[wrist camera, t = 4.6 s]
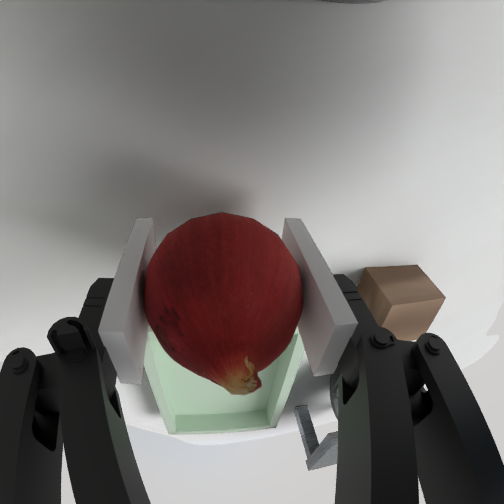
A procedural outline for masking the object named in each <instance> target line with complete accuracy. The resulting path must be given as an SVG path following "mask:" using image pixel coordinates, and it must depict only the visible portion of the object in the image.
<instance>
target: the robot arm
mask: <svg viewBox="0 0 504 504" xmlns="http://www.w3.org/2000/svg"><path fill="white" fill-rule="evenodd" d="M325 1H331V2H340V3H375V2H382V1H387V0H325ZM282 241H283V243H284V244H285V246H286V247H287V249H288V250H289V252H290V253H291V255H292V256H293V258H294V259H295V261H296V262H297V264H298V265H299V270H300V276H301V283H302V292H303V301H304V303H303V309H302V315H301V317H300V320H299V322H298V325H297V327H298V330H299V333H300V336H301V339H302V342H303V345H304V348H305V351H306V354H307V357H308V360H309V363H310V366H311V370H312V373H313V376H314V377H315V376H322V375H329V374H333V373H334V371H335V369H336V368H337V366H338V365H339V368H340V371H341V375H340V377H339V379H338V381H337V382H336V384H335V386H334V387H333V391H332V393H334V394H335V392H336V391H337V389H338V456H337V479H336V494H335V504H419V492H418V491H419V490H418V478H419V481H420V484H421V488H422V491H423V494H424V498H425V502H426V504H504V465H503V462H502V460H501V457H500V454H499V451H498V449H497V447H496V444H495V441H494V439H493V437H492V434H491V432H490V430H489V428H488V425H487V423H486V421H485V418H484V416H483V414H482V412H481V410H480V407H479V405H478V403H477V401H476V399H475V397H474V395H473V393H472V391H471V389H470V387H469V385H468V383H467V381H466V379H465V377H464V375H463V374H462V372H461V370H460V368H459V366H458V364H457V362H456V361H455V359H454V357H453V355H452V353H451V352H450V350H449V348H448V346H447V345H446V343H445V342H444V341H443V339H441V338H440V337H439V336H437V335H435V334H432V333H424V334H421V335H420V337H419V338H418V339H417V341H416V342H411V341H403V340H398V339H396V337H395V335H394V334H393V333H392V332H391V331H389V330H388V329H386V328H384V327H380V326H378V324H377V323H376V321H375V319H374V317H373V316H372V314H371V312H370V310H369V309H368V307H367V305H366V303H365V302H364V300H363V298H362V296H361V295H360V293H358V290H357V288H356V286H355V285H354V283H353V282H352V281H351V280H350V279H349V278H348V277H346V276H345V275H344V274H337V275H332V273H331V271H330V269H329V267H328V266H327V264H326V262H325V260H324V258H323V257H322V255H321V253H320V251H319V249H318V248H317V246H316V244H315V242H314V241H313V239H312V237H311V235H310V234H309V232H308V230H307V229H306V227H305V225H304V223H303V222H302V220H301V219H295V218H285V221H284V228H283V234H282ZM155 251H156V244H155V234H154V222H153V218H137V219H136V221H135V224H134V226H133V229H132V231H131V234H130V236H129V239H128V241H127V244H126V247H125V249H124V252H123V255H122V258H121V260H120V263H119V266H118V269H117V272H116V275H115V278H98V279H97V280H96V281H95V282H94V283H93V285H92V286H91V287H90V289H89V291H88V294H87V298H86V299H85V302H84V304H83V307H82V310H81V313H80V315H79V318H77V317H66V318H63V319H60V320H58V321H57V322H56V323H54V324H53V325H52V327H51V328H50V329H49V331H48V335H47V338H48V340H49V342H50V344H51V346H52V347H53V349H54V351H55V353H52V354H47V355H42V356H35V354H34V353H33V352H32V351H31V350H30V349H28V348H25V347H23V348H17V349H15V350H13V351H11V352H10V353H9V354H8V355H7V357H6V359H5V360H4V363H3V366H2V369H1V372H0V504H61V469H62V452H63V443H64V450H65V455H66V460H67V467H68V471H69V476H70V481H71V485H72V490H73V494H74V498H75V502H76V504H151V503H150V500H149V498H148V495H147V493H146V490H145V487H144V484H143V481H142V479H141V476H140V473H139V469H138V466H137V463H136V460H135V457H134V454H133V450H132V447H131V443H130V440H129V436H128V432H127V429H126V425H125V421H124V416H123V412H122V408H121V404H120V399H119V394H118V392H117V389H116V387H115V384H116V377H118V379H119V381H120V383H125V384H142V377H143V367H144V358H145V349H146V341H147V333H148V326H149V323H148V321H147V317H146V314H145V311H144V287H145V277H146V268H147V266H148V264H149V262H150V260H151V258H152V256H153V254H154V253H155ZM424 384H426V386H427V388H428V391H426V390H425V389H424V387H423V386H424Z"/></svg>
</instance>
